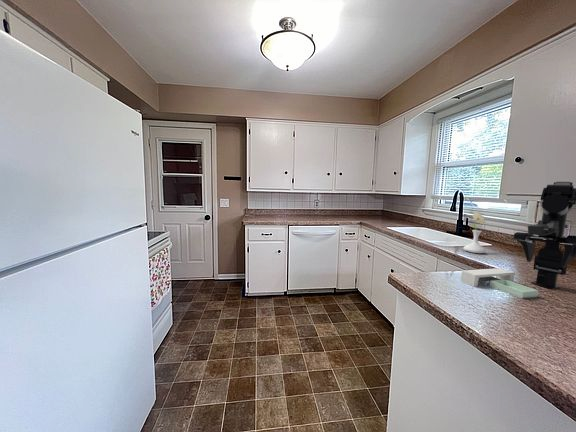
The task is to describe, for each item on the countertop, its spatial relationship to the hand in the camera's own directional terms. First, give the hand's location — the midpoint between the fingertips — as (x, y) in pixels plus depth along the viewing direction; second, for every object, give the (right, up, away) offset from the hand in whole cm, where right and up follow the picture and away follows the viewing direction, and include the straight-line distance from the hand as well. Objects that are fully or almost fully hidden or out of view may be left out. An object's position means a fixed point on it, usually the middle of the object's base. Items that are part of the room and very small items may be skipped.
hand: (545, 264), depth 84 cm
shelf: (-4, -11, +19) cm, 23 cm away
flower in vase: (+30, -7, +73) cm, 79 cm away
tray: (-2, -12, +10) cm, 16 cm away
